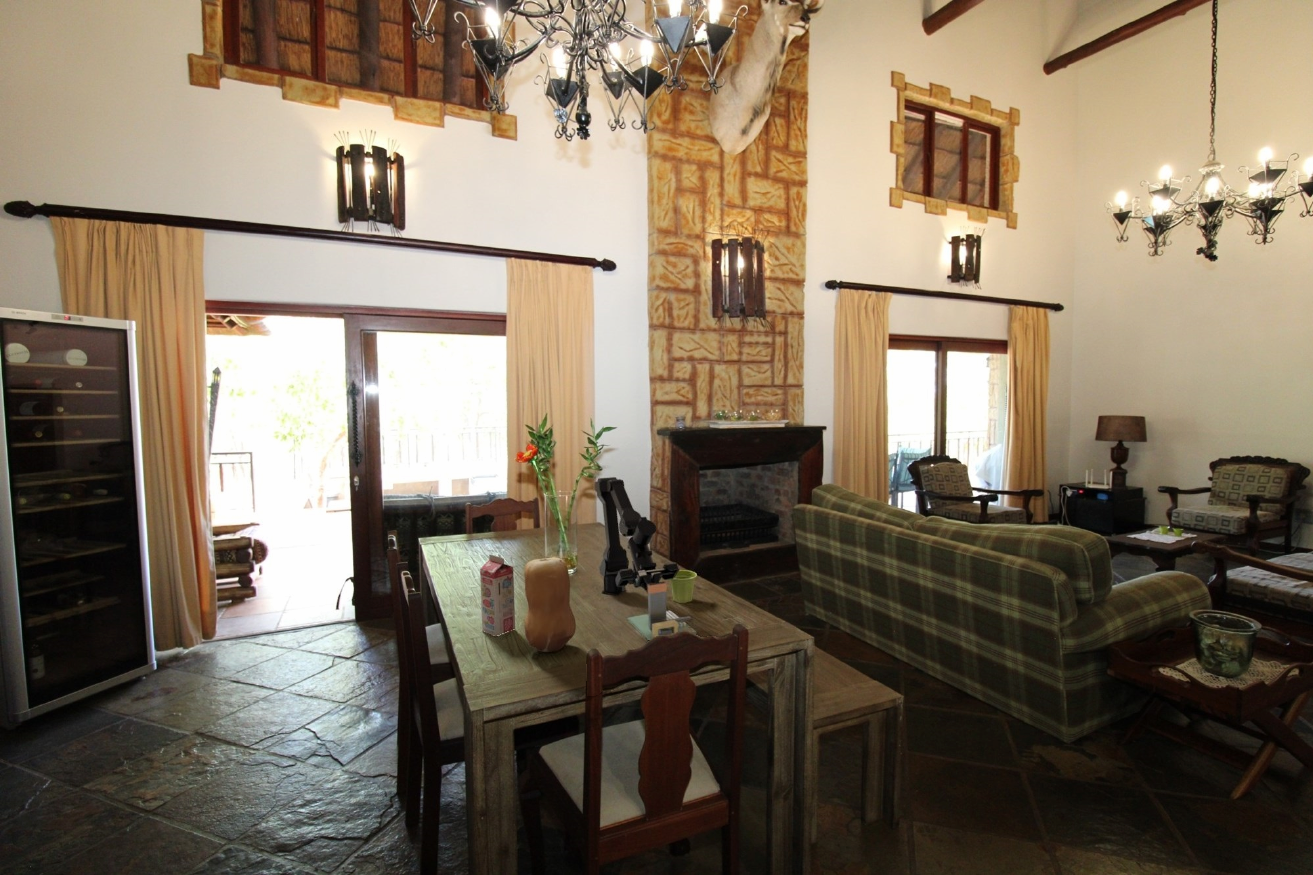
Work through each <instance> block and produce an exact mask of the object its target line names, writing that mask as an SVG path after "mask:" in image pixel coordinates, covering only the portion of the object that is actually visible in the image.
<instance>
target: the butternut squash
mask: <svg viewBox="0 0 1313 875" xmlns="http://www.w3.org/2000/svg"><path fill="white" fill-rule="evenodd" d="M569 574H570V573H569V568H568V566H567V563H566V562H565V561H564V559H562V558H560V557H546V558H535V559H532V560H529V561H528V562H526V564H525V566H524V572H523V576H524V592H525V593H524V594H525V598H526V601H527V606H528V609H527V614H526V616H525V620H524V634H525V635H524V636H525V638H526V641H527V642H528V644H529V646H530V647H532V648H535V649H536V650H537V651H539V652H544V653H550V652H551V651H555V652H558V651H560V650H561V649H562V648H564V646H565V645H566V644H568V642H569V641H571V639H572V638H573V637H574V636H575V633H576V628H577V622H576V618H575V615H574V613H573V610H572V608H571V604H570V600H571V598H570V597H571V595H570V594H571V579H570V575H569Z"/></svg>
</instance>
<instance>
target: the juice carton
mask: <svg viewBox="0 0 1313 875" xmlns="http://www.w3.org/2000/svg"><path fill="white" fill-rule="evenodd" d="M488 557H489V558H488V559H489V560H488V561H486V563H484V564H483V565H481V567H480V568H479V571H480V572H479V577H480V578H479V579H480V581H479V582H480V603H481V627H482V628H481V632H482V631H485V632H486V633H485V632H484V633H485V634H487V633H489V634H491V635H490V636H492V635H495V636H497V635H500V634H502V633H505V632H507V631H511V630H513V629H515V630H516V618H515V617H516V615H515V614H516V613H515V610H516V609H515V582H514V577H515V576H514V567H513V566H512V565H509V564H505V559H504V558H503V557H500V556H496V555H493V554H490V553H489V556H488ZM511 632H512V631H511ZM489 634H488V635H489Z"/></svg>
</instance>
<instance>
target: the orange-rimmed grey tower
mask: <svg viewBox="0 0 1313 875" xmlns="http://www.w3.org/2000/svg"><path fill="white" fill-rule="evenodd" d="M667 591H668V589H667V582H666V581H659V582H658V583H651V584H648V593H647V596H648V597H647V602H648V610H647V611H648V612H647V613H648V623H649V629H650V630H652V624H654V623H659V622H665V621H671V620H675V621H677V622H680V621H684V622H685V621H690V620H692V617H691V616H688V615H687V616H682V617H679V618H676V619H670V620H666V611H667ZM671 633H672V629H671V628H669V627H668V628H663V629H658V634H659V635H668V634H671Z"/></svg>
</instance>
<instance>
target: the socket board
mask: <svg viewBox="0 0 1313 875" xmlns="http://www.w3.org/2000/svg"><path fill="white" fill-rule="evenodd" d="M676 618H680V617H679V616H678V615H677V614H676V613H674V612H673V611H671V610H666V620H670V619H676ZM627 621H628V623H629V624H631V625H632V626H633V627H634V628H635V629H636V630H637V631H638V632H639V634H641V633H642V634H641V636H643V635H644V636H643V637H644V638H645V637H646V638H647V639H646V638H645V639H646V640H647V641H648V640H650V639H652V638H653V637H656V636H658V635H659V634H658V629H663V628H668V627H669V628H671V629H672V633H676V632H678V631H683V630H687V629H683V628H685V627H691V626H690V625H689V624H688V623H686V622H685V621H680V622H677V621H675V620H671V621H665V622H659V623H654V624H652V630H650V629H649V623H648V614H647V613H646V614H641V615H635V616H630V617H627ZM691 629H692V632H694V633H696V634H697V631H696V630H695V629H694V628H692V627H691Z"/></svg>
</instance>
